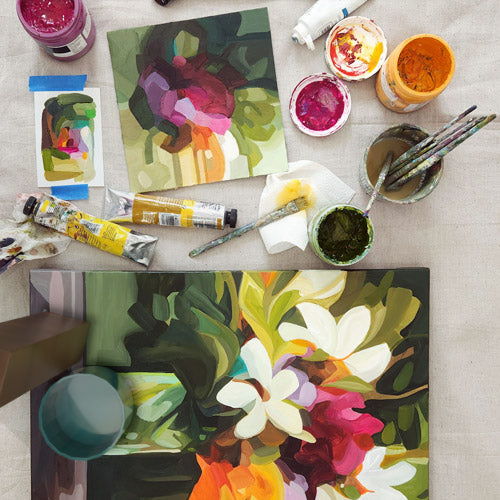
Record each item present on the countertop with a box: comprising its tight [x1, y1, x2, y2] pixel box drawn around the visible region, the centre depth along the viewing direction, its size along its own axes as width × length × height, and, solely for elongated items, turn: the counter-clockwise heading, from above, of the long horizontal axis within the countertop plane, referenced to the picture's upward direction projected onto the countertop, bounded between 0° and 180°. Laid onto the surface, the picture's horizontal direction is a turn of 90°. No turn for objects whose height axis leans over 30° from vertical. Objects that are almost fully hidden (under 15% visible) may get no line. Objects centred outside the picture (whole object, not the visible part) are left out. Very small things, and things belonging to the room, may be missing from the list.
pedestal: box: [0, 310, 91, 409], centre depth 58 cm, size 7×6×23 cm
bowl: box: [37, 365, 135, 462], centre depth 66 cm, size 12×12×5 cm
